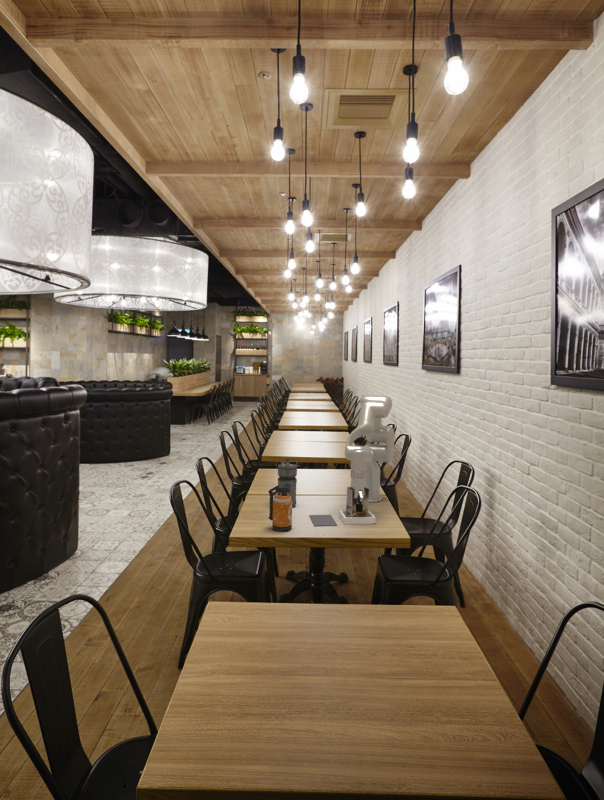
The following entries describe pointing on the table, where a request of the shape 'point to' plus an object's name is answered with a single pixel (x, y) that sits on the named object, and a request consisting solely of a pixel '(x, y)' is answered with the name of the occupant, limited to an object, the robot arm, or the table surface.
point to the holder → (357, 518)
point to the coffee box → (353, 501)
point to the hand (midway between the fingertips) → (357, 509)
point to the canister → (280, 508)
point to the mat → (323, 520)
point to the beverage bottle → (288, 478)
